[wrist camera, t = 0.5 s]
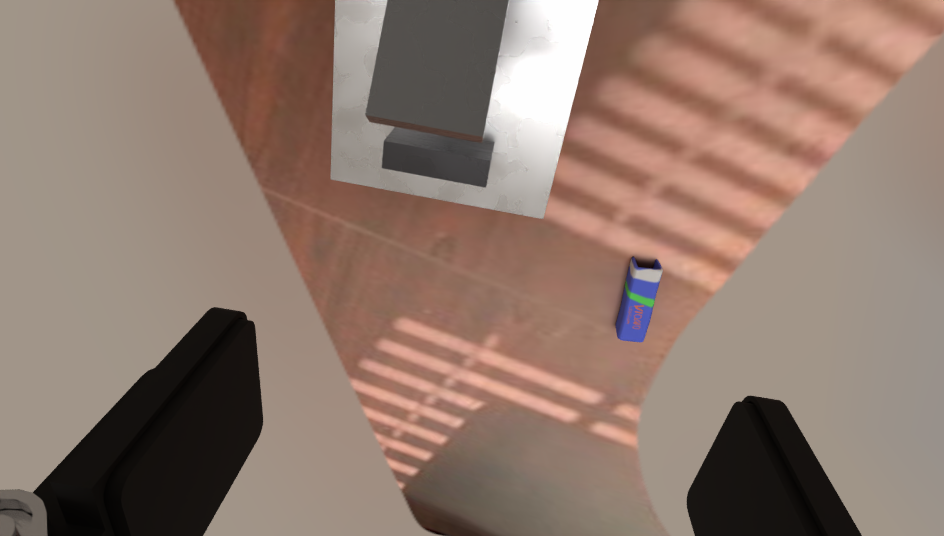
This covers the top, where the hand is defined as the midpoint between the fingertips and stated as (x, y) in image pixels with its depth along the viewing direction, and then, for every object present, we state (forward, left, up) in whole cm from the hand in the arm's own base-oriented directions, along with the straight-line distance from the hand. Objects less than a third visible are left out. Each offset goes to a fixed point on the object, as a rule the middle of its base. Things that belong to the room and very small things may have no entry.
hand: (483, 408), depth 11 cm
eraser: (+12, +11, -26) cm, 31 cm away
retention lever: (-7, -4, -19) cm, 21 cm away
